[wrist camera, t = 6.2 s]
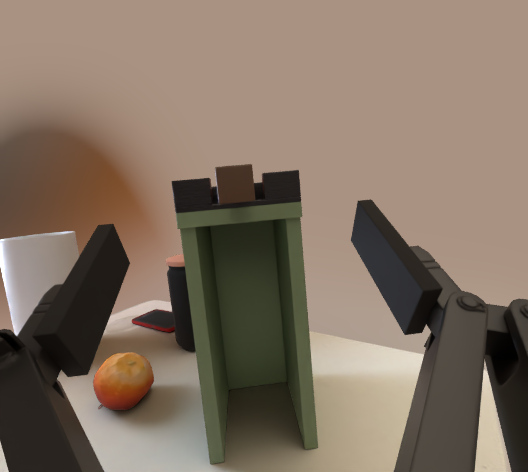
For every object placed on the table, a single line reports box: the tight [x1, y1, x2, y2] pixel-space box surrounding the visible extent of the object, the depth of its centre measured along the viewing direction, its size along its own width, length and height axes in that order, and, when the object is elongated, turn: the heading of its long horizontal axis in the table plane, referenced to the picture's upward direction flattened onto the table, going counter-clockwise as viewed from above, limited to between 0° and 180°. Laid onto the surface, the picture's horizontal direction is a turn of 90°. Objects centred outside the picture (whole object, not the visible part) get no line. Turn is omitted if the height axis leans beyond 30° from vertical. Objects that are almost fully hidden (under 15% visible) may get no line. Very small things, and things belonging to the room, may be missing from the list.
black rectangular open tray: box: [172, 170, 301, 213], centre depth 36 cm, size 16×12×3 cm
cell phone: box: [132, 309, 175, 332], centre depth 73 cm, size 8×15×1 cm, turn 58°
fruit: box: [93, 352, 154, 410], centre depth 44 cm, size 8×8×8 cm
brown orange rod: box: [215, 164, 255, 204], centre depth 29 cm, size 26×3×3 cm, turn 5°
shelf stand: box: [176, 202, 318, 464], centre depth 38 cm, size 16×12×28 cm
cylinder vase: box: [0, 231, 79, 336], centre depth 60 cm, size 12×12×25 cm
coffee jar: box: [166, 254, 196, 351], centre depth 60 cm, size 11×11×18 cm
